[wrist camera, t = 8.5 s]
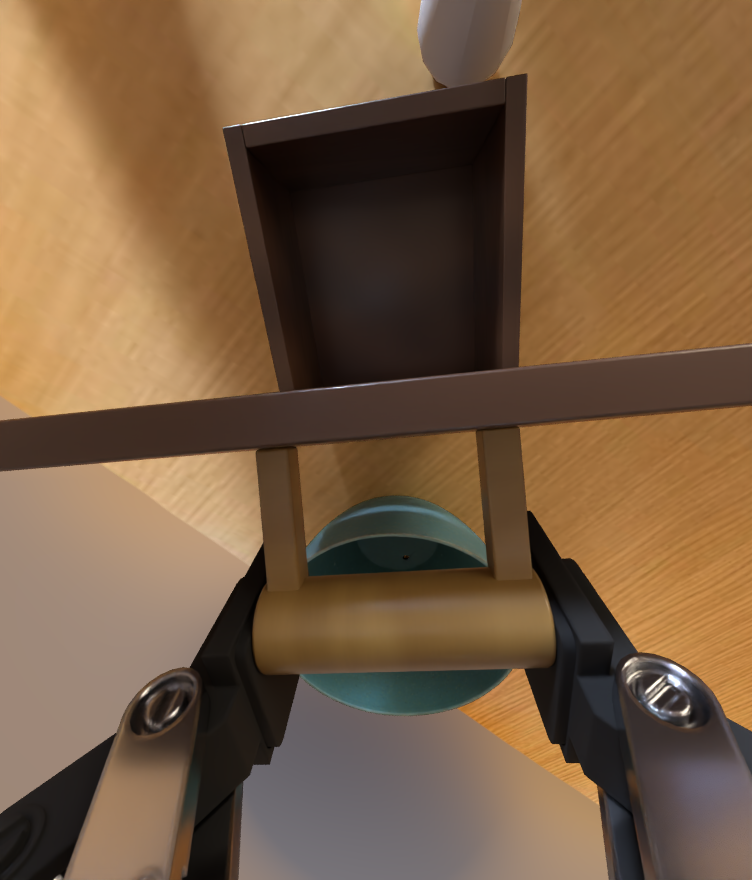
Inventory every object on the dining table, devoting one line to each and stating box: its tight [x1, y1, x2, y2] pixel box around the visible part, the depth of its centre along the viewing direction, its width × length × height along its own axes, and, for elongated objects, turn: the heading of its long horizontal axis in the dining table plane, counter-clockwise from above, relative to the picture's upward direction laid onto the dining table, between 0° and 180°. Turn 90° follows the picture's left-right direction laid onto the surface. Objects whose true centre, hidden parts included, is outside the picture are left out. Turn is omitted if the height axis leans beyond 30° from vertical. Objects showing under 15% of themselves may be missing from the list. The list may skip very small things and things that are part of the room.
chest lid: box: [0, 343, 752, 675], centre depth 14 cm, size 18×15×5 cm
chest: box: [223, 74, 527, 392], centre depth 24 cm, size 17×15×9 cm
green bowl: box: [300, 496, 512, 716], centre depth 31 cm, size 18×18×12 cm
